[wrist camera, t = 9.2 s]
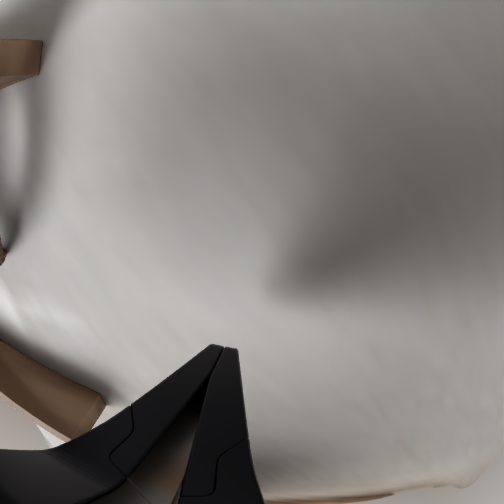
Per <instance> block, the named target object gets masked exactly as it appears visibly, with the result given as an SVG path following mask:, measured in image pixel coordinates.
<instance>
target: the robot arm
mask: <svg viewBox="0 0 504 504" xmlns="http://www.w3.org/2000/svg"><path fill="white" fill-rule="evenodd" d="M0 504H265V502H264V499H263V496H262V493H261V490H260V487H259V484H258V481H257V477H256V474H255V470H254V466H253V461H252V456H251V450H250V442H249V436H248V428H247V420H246V412H245V404H244V396H243V388H242V379H241V371H240V362H239V353H238V349H236V348H231V347H225V348H224V347H223V346H220V345H215V344H210V345H209V346H207V347H206V348H205V349H204V350H202V351H201V352H200V353H198V354H197V355H196V356H195V357H193V358H192V359H191V360H189V361H188V362H187V363H186V364H184V365H183V366H182V367H180V368H179V369H178V370H176V371H175V372H174V373H173V374H171V375H170V376H169V377H167V378H166V379H165V380H163V381H162V382H161V383H159V384H158V385H157V386H155V387H154V388H153V389H151V390H150V391H149V392H147V393H146V394H144V395H143V396H142V397H140V398H139V399H138V400H136V401H135V402H134V403H132V404H131V406H128V407H126V408H125V409H124V410H122V411H121V412H119V413H118V414H116V415H115V416H113V417H112V418H110V419H109V420H107V421H106V422H104V423H102V424H100V425H99V426H97V427H95V428H93V429H92V430H90V431H88V432H86V433H84V434H82V435H80V436H78V437H76V438H74V439H72V440H70V441H68V442H66V443H64V444H62V445H60V446H57V447H54V448H51V449H46V450H8V449H0Z"/></svg>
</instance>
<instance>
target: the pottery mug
mask: <svg viewBox="0 0 504 504" xmlns="http://www.w3.org/2000/svg"><path fill="white" fill-rule="evenodd" d="M6 255H7V252H6V251H5V250H3V249H2V243H1V237H0V266H1V265H2V264H3V262H4V261H5V257H6Z"/></svg>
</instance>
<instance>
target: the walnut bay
mask: <svg viewBox="0 0 504 504" xmlns="http://www.w3.org/2000/svg"><path fill="white" fill-rule="evenodd" d="M41 47H42V41H38V40H19V39H0V89H2V88H5V87H7V86H9V85H12V84H14V83H17V82H19V81H22V80H24V79H27V78H30V77H32V76H35V75H38V74H39V66H40V56H41ZM0 397H1V398H2V399H3V400H5V401H6V402H7V403H9V404H10V405H11V406H12V407H14V408H15V409H16V410H18V411H19V412H21V413H22V414H23V415H25V416H26V417H28V418H29V419H30V420H32V421H33V422H35V423H36V424H38V425H39V426H41V427H42V428H44V429H45V430H47V431H48V432H50V433H51V434H53V435H55V436H56V437H58V438H59V439H61V440H63V441H64V442H68V441H70V440H72V439H74V438H76V437H78V436H80V435H82V434H84V433H86V432H88V431H90V430H91V429H92V427H93V426H94V424H95V423H96V421H97V419H98V418H99V416H100V415H101V413H102V412H103V410H104V408H105V407H106V406H105V404H104V402H103V400H102V398H101V396H100V394H99V393H96V392H94V391H92V390H90V389H87V388H85V387H83V386H81V385H79V384H77V383H75V382H73V381H71V380H69V379H67V378H65V377H63V376H61V375H59V374H57V373H55V372H53V371H51V370H50V369H48V368H46V367H44V366H42V365H40V364H39V363H37V362H35V361H33V360H32V359H30V358H28V357H27V356H25V355H23V354H22V353H20V352H18V351H17V350H15V349H14V348H12V347H11V346H9V345H7V344H6V343H4V342H3V341H1V340H0Z"/></svg>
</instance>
